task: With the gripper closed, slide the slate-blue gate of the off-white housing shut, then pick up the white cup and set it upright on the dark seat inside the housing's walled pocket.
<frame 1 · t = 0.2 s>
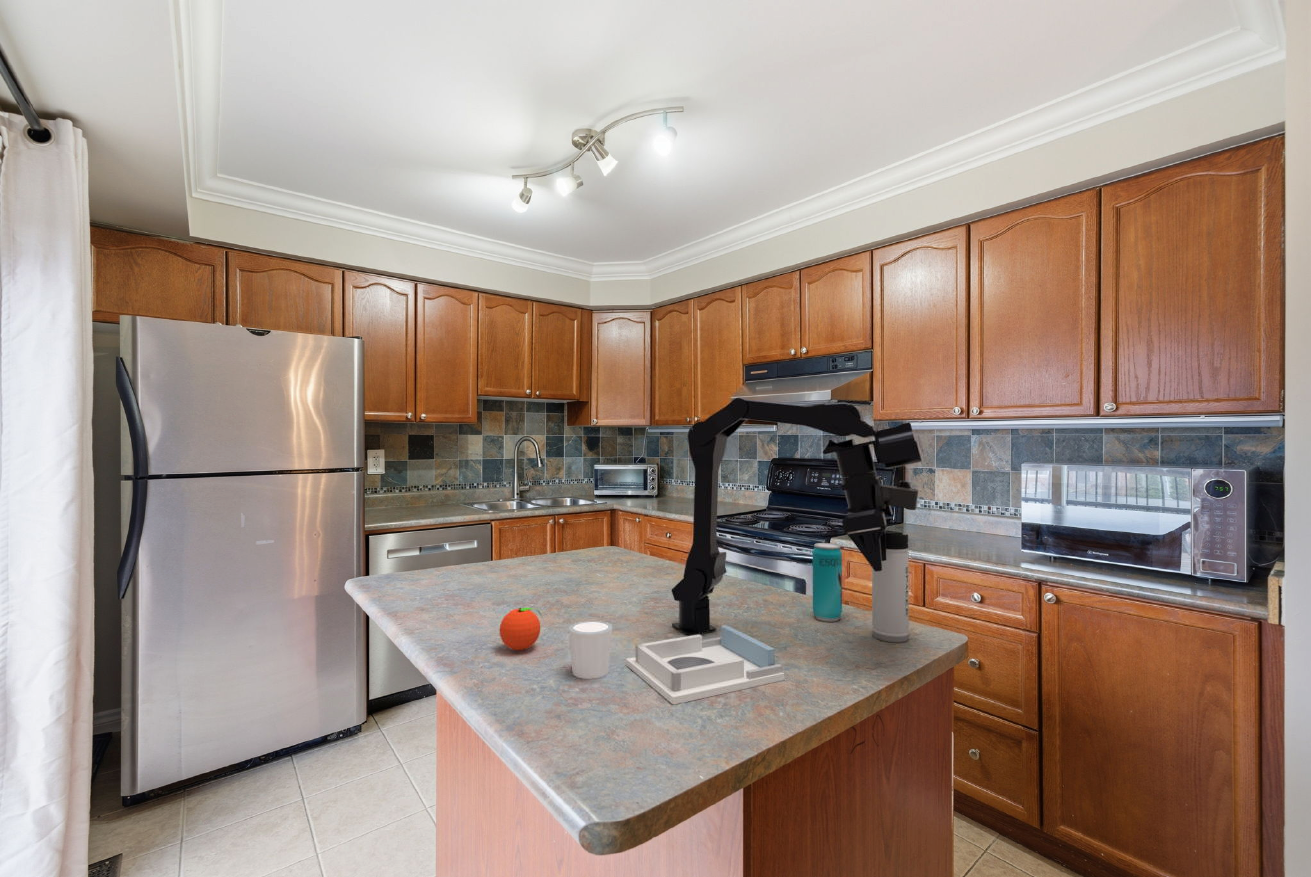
hand: (881, 565, 98), 15 cm above the counter, tool pointing down, fingers open, 9 cm apart
gate: (746, 646, 94), point 3 cm above the counter, slide at 0.0 cm
white cup: (590, 672, 91), on the counter
clementine: (522, 649, 101), on the counter
travel mug: (889, 638, 107), on the counter
housing: (702, 672, 90), on the counter
beverage can: (827, 619, 119), on the counter
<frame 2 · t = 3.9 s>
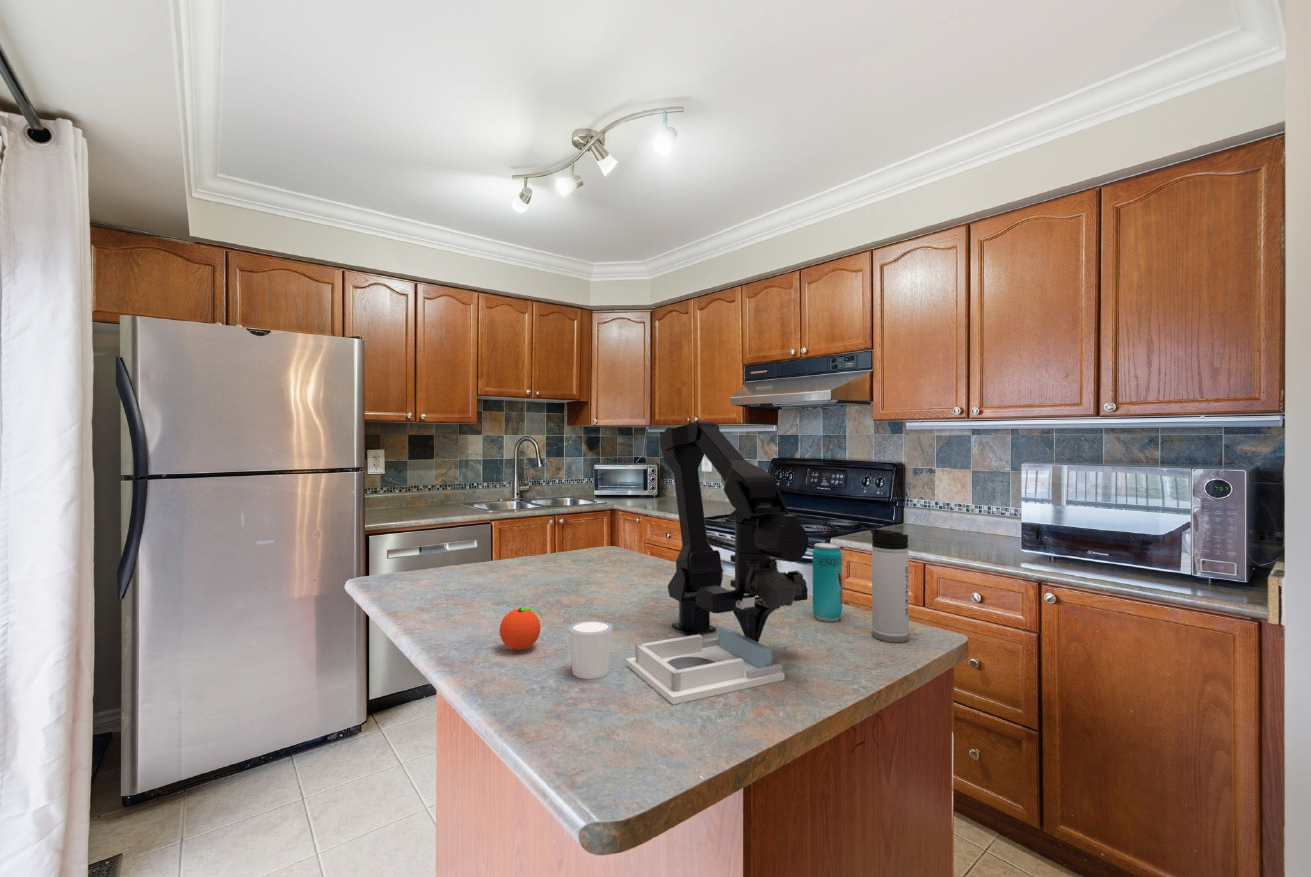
hand: (752, 646, 95), 3 cm above the counter, tool pointing down, fingers closed
gate: (743, 647, 94), point 3 cm above the counter, slide at 0.6 cm, touching gripper
everything else where it was.
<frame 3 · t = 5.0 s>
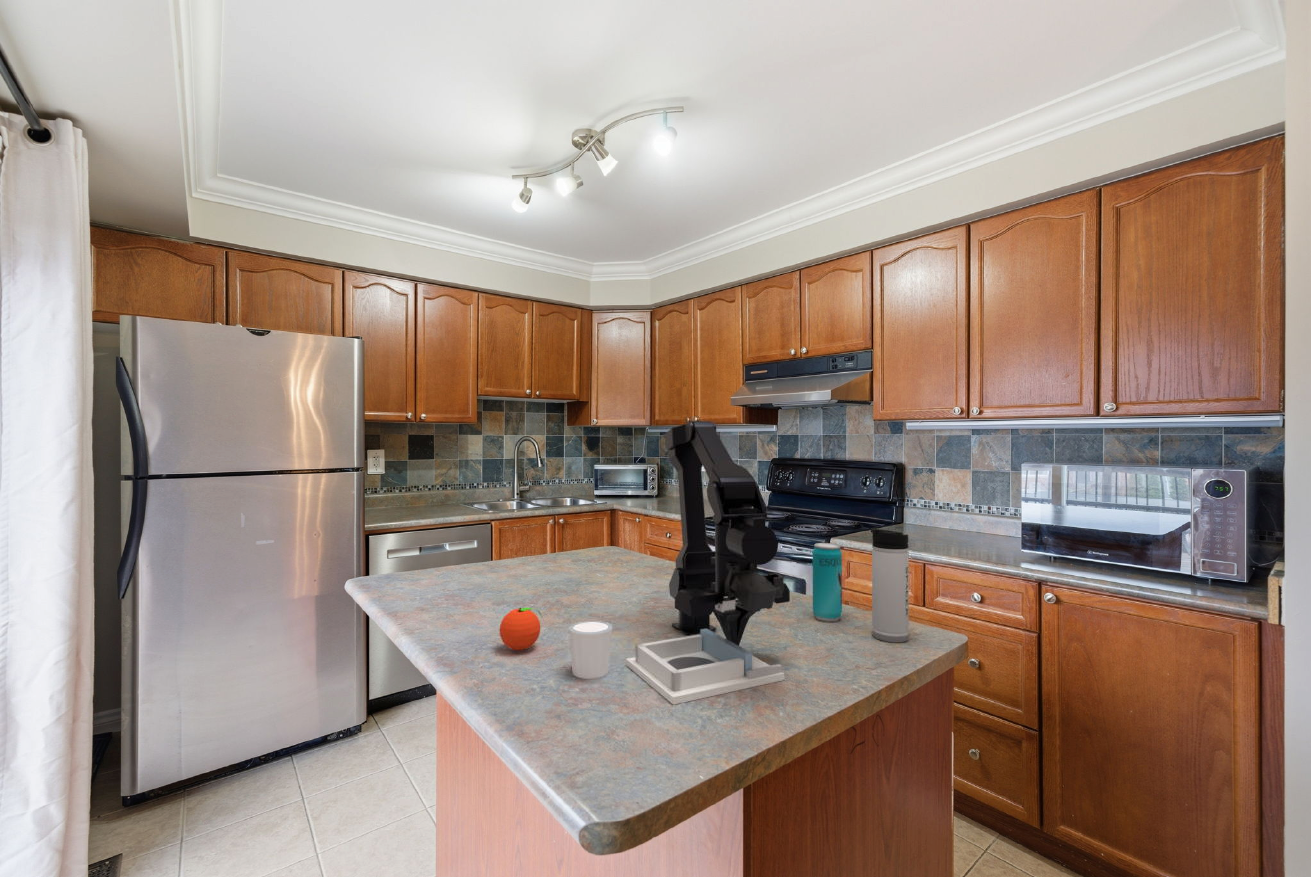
hand: (734, 650, 93), 3 cm above the counter, tool pointing down, fingers closed
gate: (724, 650, 92), point 3 cm above the counter, slide at 4.1 cm, touching gripper
everything else where it was.
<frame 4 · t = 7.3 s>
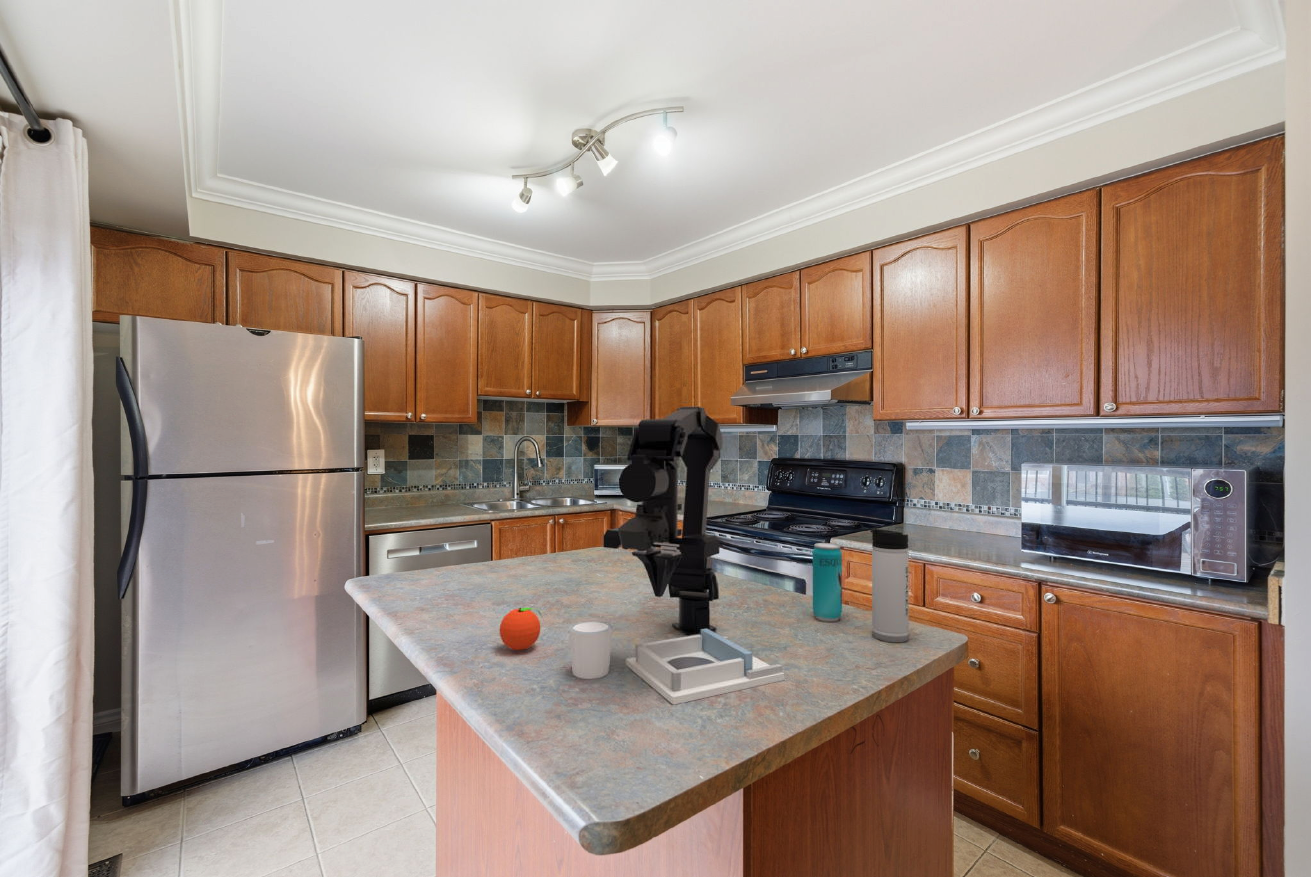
hand: (659, 596, 92), 11 cm above the counter, tool pointing down, fingers closed
gate: (725, 650, 92), point 3 cm above the counter, slide at 4.1 cm
everything else where it was.
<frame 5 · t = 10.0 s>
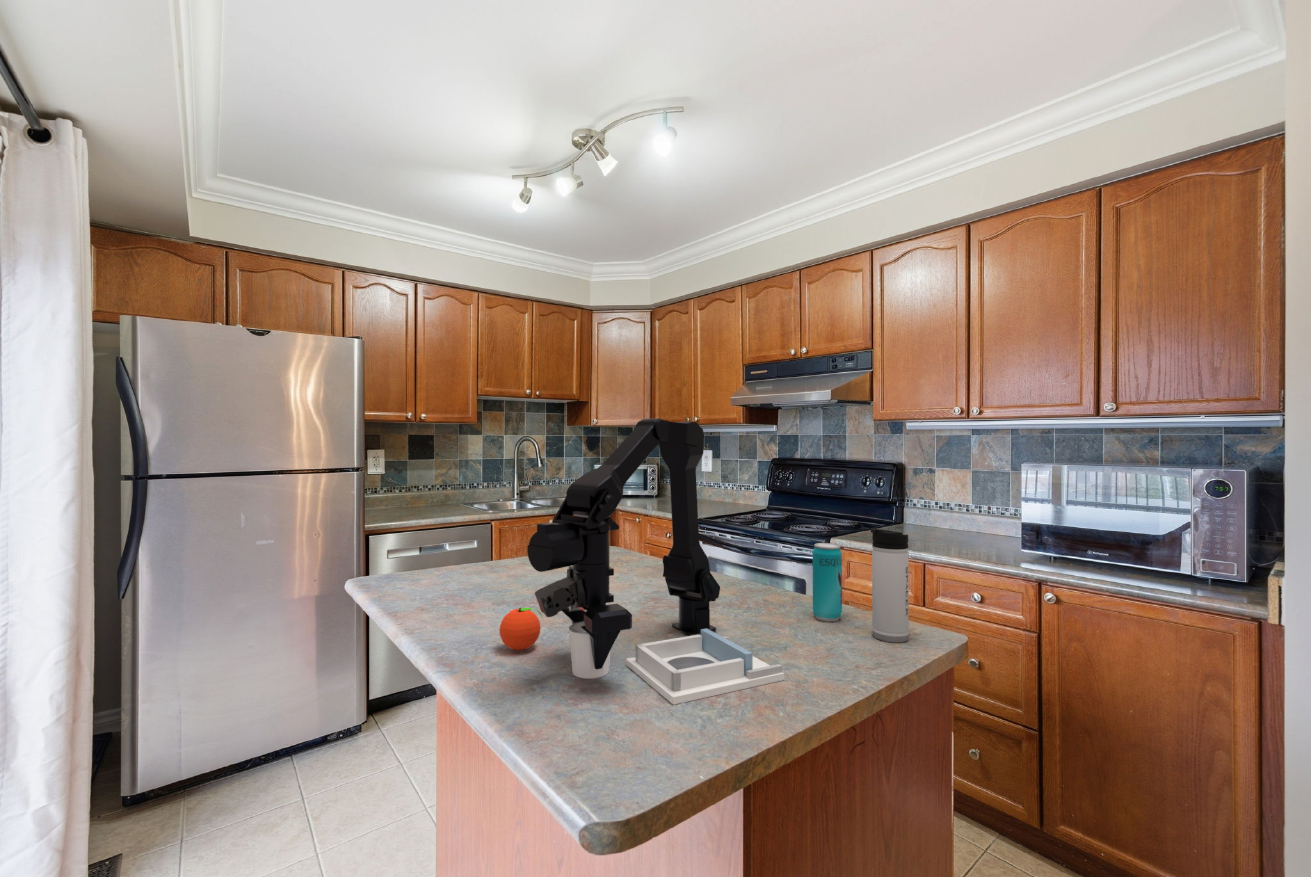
hand: (590, 661, 91), 2 cm above the counter, tool pointing down, fingers closed on white cup, 6 cm apart
white cup: (590, 672, 91), on the counter, touching gripper
everything else where it was.
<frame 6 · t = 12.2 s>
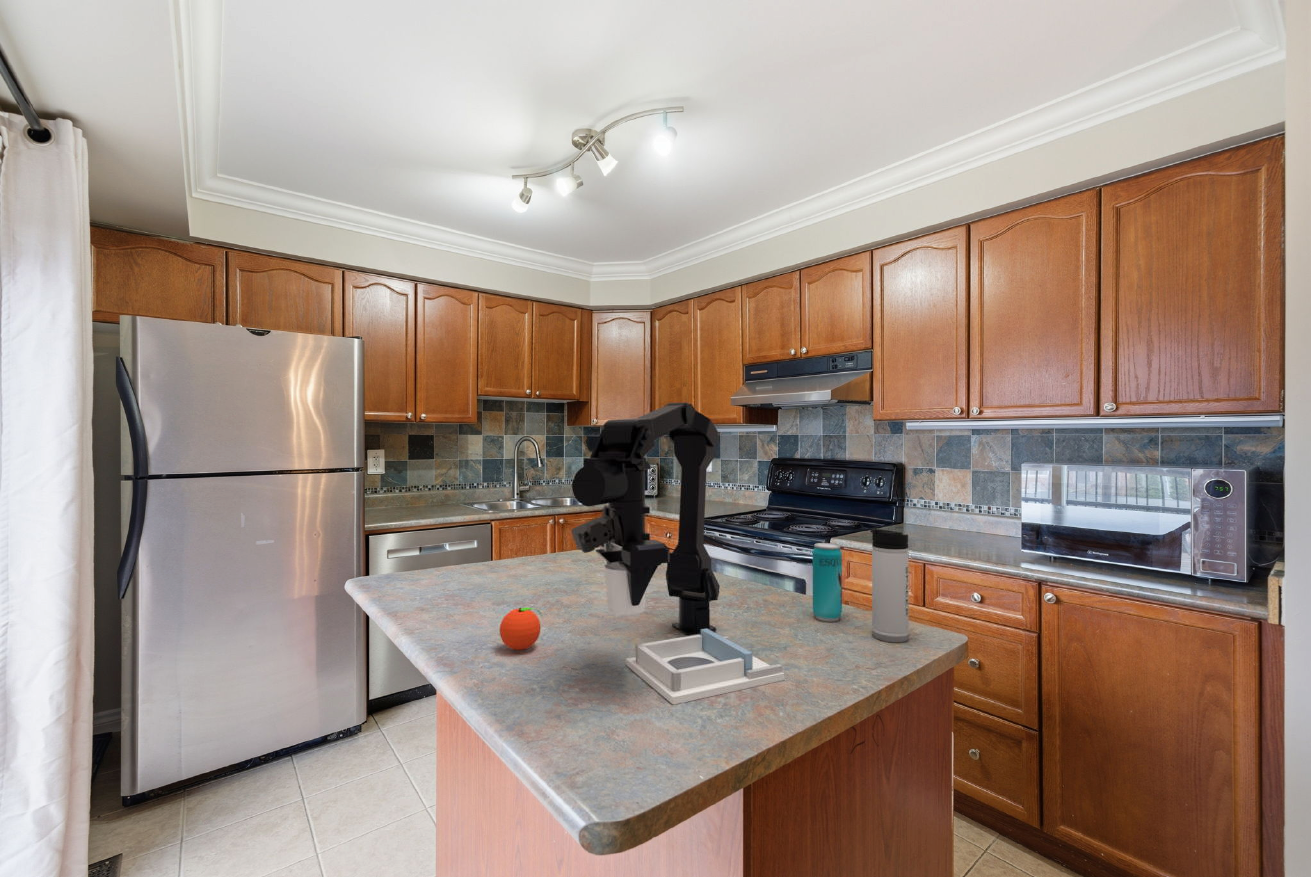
hand: (627, 600, 91), 11 cm above the counter, tool pointing down, fingers closed on white cup, 6 cm apart
white cup: (626, 611, 91), point 9 cm above the counter, touching gripper
everything else where it was.
when the fingers open (4 cm above the counter, at t = 14.6 s): white cup drops 2 cm, resting on housing.
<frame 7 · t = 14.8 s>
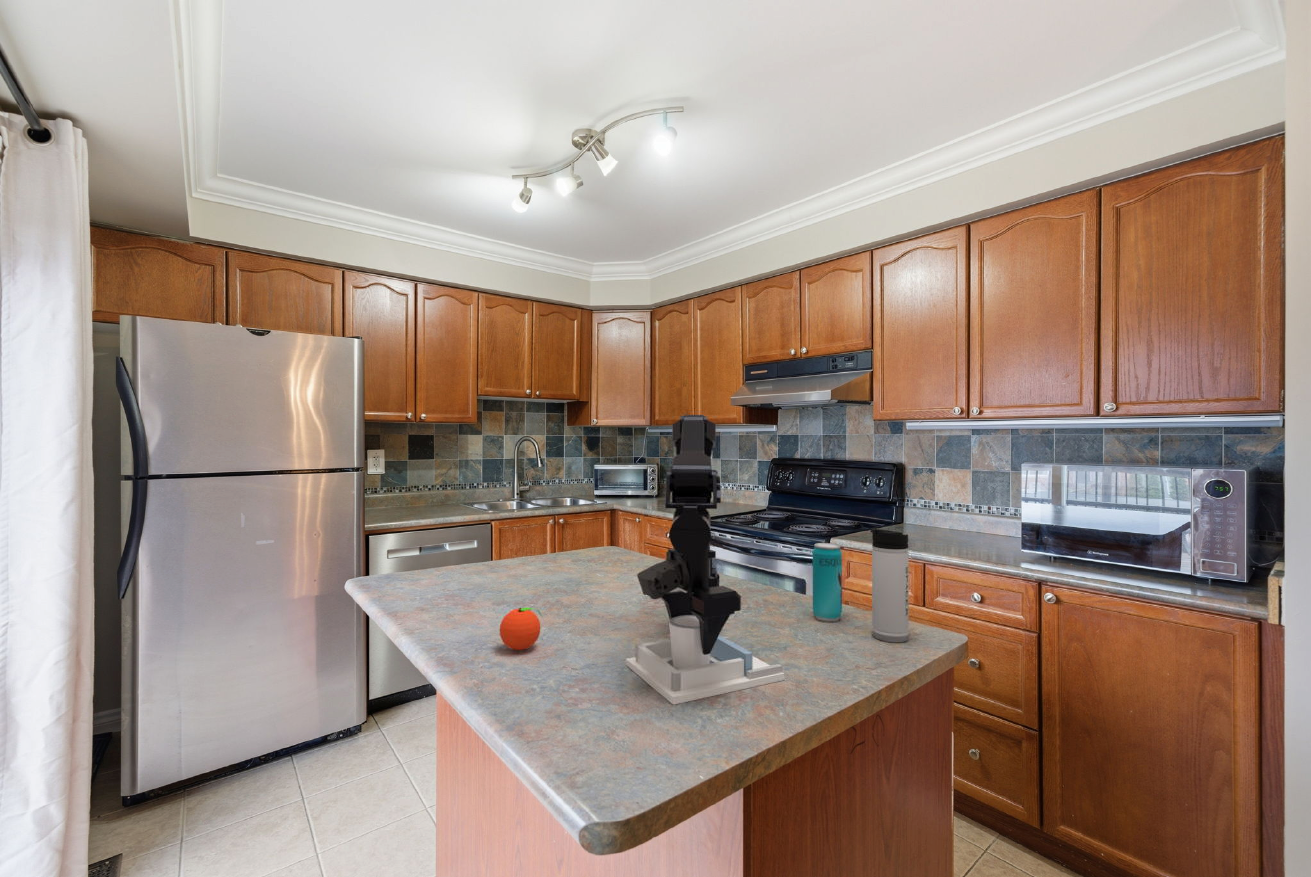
hand: (691, 645, 90), 4 cm above the counter, tool pointing down, fingers open, 8 cm apart
white cup: (691, 667, 90), point 1 cm above the counter, touching housing
everything else where it was.
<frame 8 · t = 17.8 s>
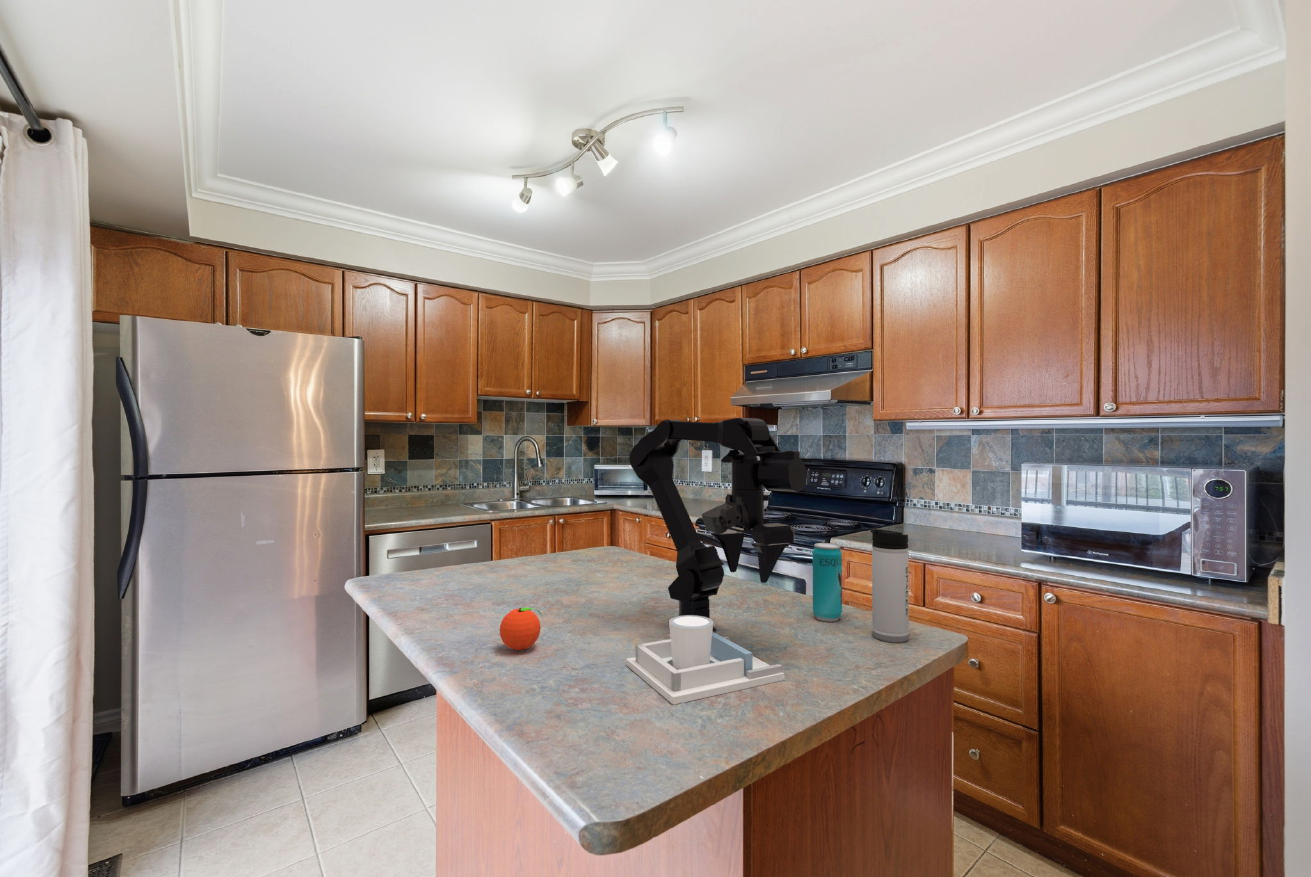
hand: (747, 577, 103), 12 cm above the counter, tool pointing down, fingers open, 9 cm apart
nothing on the counter moved.
at the end: gate slide at 4.1 cm; white cup 0.1 cm from the target spot on the housing, point 1.0 cm above the housing's base; white cup tilted 0° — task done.
